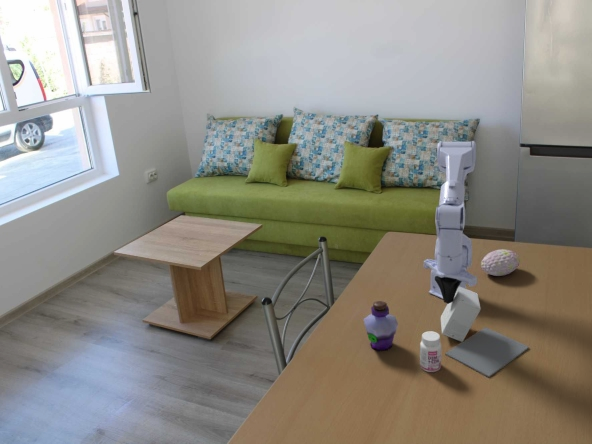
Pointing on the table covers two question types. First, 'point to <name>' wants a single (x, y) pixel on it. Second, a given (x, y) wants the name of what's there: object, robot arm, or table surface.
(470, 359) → the mat
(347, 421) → the table surface
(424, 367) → the pill bottle
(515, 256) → the decorative item
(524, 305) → the table surface
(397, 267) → the table surface
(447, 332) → the small box
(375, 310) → the potion bottle
